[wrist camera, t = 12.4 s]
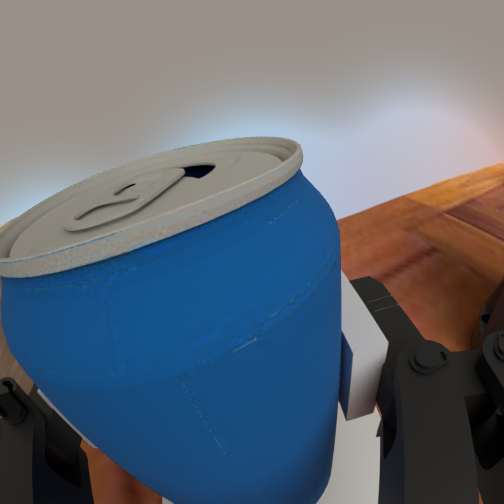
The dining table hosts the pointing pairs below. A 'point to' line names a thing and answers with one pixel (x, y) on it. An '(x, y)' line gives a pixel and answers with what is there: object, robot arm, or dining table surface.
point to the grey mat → (352, 462)
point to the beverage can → (188, 319)
